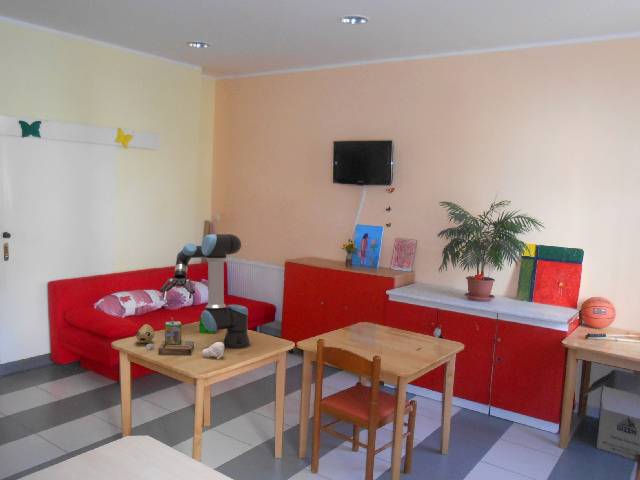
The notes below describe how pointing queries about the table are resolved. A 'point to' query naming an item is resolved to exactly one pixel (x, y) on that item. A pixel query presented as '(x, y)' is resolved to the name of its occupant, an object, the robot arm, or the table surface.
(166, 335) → the chalk box
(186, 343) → the grey clip
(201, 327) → the puzzle cube
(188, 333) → the table surface
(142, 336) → the tan toy creature
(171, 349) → the brown tray holder
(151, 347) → the grey clip
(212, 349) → the white lumpy piece
